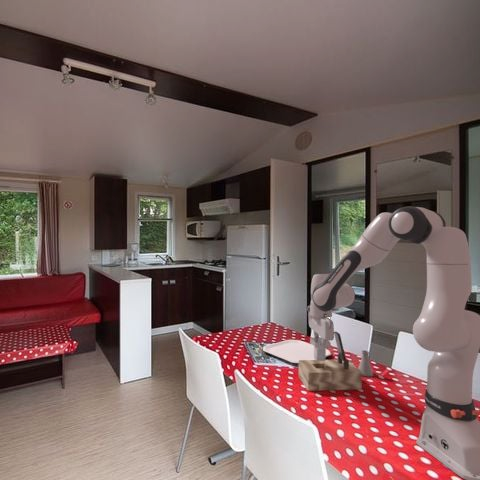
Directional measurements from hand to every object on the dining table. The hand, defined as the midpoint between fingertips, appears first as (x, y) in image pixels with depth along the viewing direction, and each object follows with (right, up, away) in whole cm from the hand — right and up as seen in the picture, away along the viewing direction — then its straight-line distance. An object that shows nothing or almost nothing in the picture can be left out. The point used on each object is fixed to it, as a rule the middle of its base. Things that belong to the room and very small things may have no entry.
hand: (320, 344), depth 132 cm
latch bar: (+8, -1, +1) cm, 8 cm away
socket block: (+4, -16, 0) cm, 16 cm away
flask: (+23, -17, +10) cm, 30 cm away
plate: (-4, -16, +34) cm, 38 cm away
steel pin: (0, -6, 0) cm, 6 cm away
